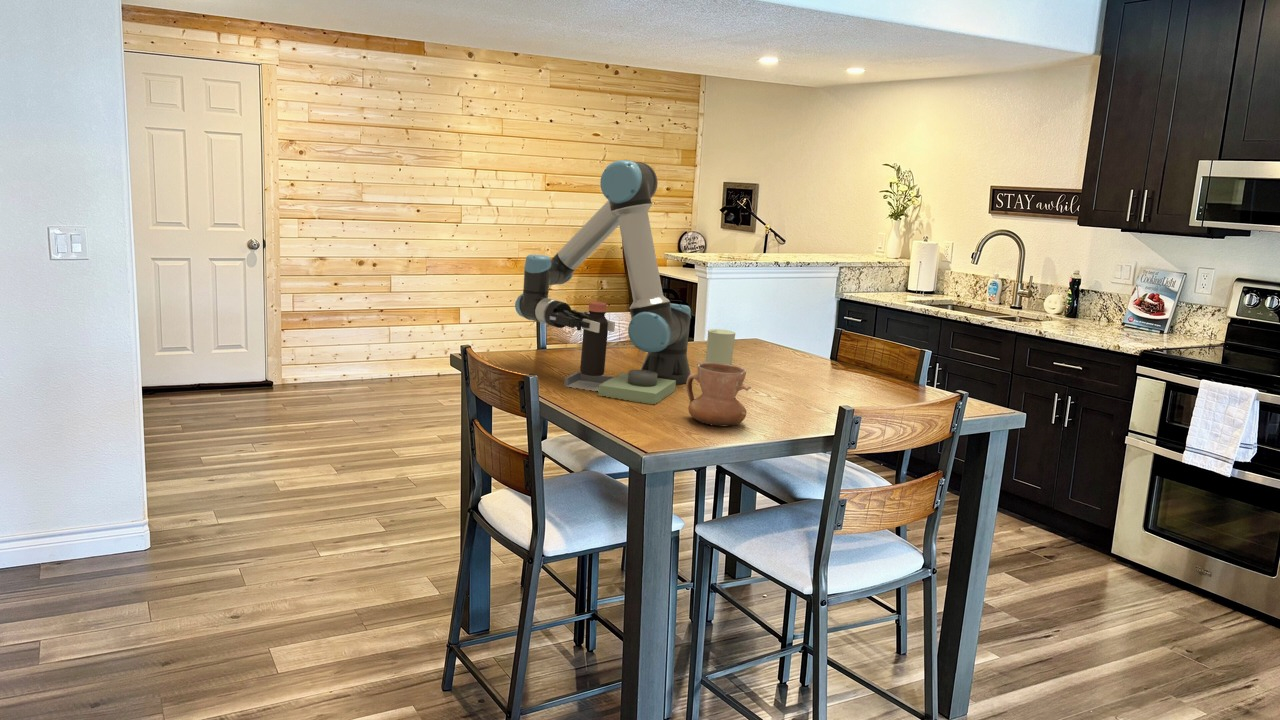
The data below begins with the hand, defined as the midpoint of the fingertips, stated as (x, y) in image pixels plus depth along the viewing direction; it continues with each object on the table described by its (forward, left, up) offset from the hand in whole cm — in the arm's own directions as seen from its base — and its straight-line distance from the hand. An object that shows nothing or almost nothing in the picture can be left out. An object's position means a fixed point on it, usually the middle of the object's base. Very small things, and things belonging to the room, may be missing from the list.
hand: (606, 327), depth 252 cm
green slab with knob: (-4, -4, -18) cm, 18 cm away
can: (-20, -61, -18) cm, 66 cm away
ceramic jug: (-36, +14, -18) cm, 42 cm away
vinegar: (+4, -3, -14) cm, 15 cm away
